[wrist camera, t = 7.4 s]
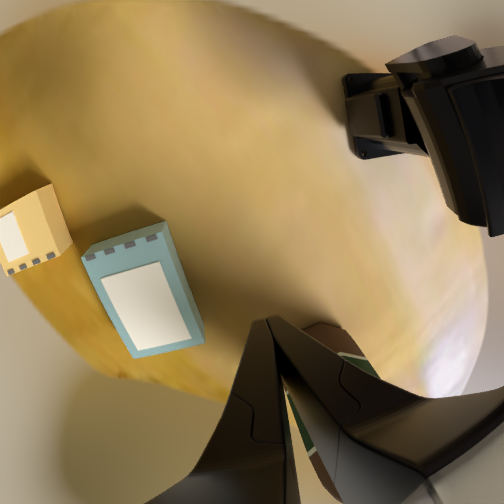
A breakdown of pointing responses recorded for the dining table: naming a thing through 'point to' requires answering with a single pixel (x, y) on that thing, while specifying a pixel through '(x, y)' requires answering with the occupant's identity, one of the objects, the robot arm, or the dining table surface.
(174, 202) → the dining table surface
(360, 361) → the beer bottle
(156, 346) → the pale blue pin-sided card
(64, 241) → the stub
